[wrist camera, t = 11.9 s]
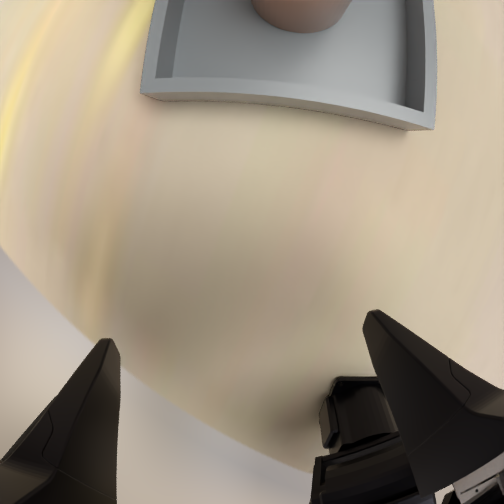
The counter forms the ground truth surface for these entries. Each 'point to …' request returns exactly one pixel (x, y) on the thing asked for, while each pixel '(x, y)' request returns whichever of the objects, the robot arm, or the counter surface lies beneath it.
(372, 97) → the tray
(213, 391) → the counter surface
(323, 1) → the canister
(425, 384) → the robot arm
